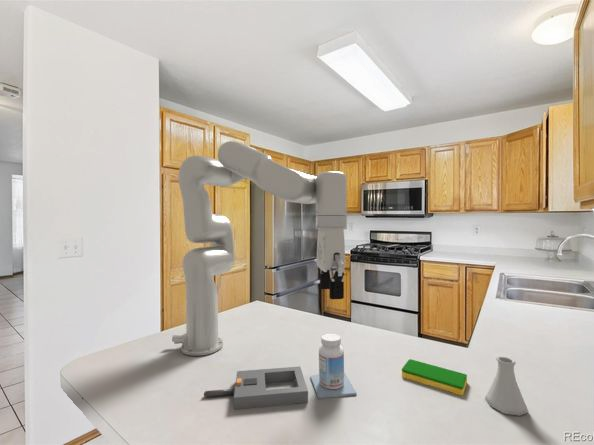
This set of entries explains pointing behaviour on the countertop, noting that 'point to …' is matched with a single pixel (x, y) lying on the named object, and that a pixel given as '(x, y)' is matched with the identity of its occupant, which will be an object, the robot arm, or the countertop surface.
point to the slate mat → (326, 393)
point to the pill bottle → (331, 362)
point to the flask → (506, 390)
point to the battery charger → (254, 391)
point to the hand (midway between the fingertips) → (331, 293)
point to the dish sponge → (435, 376)
